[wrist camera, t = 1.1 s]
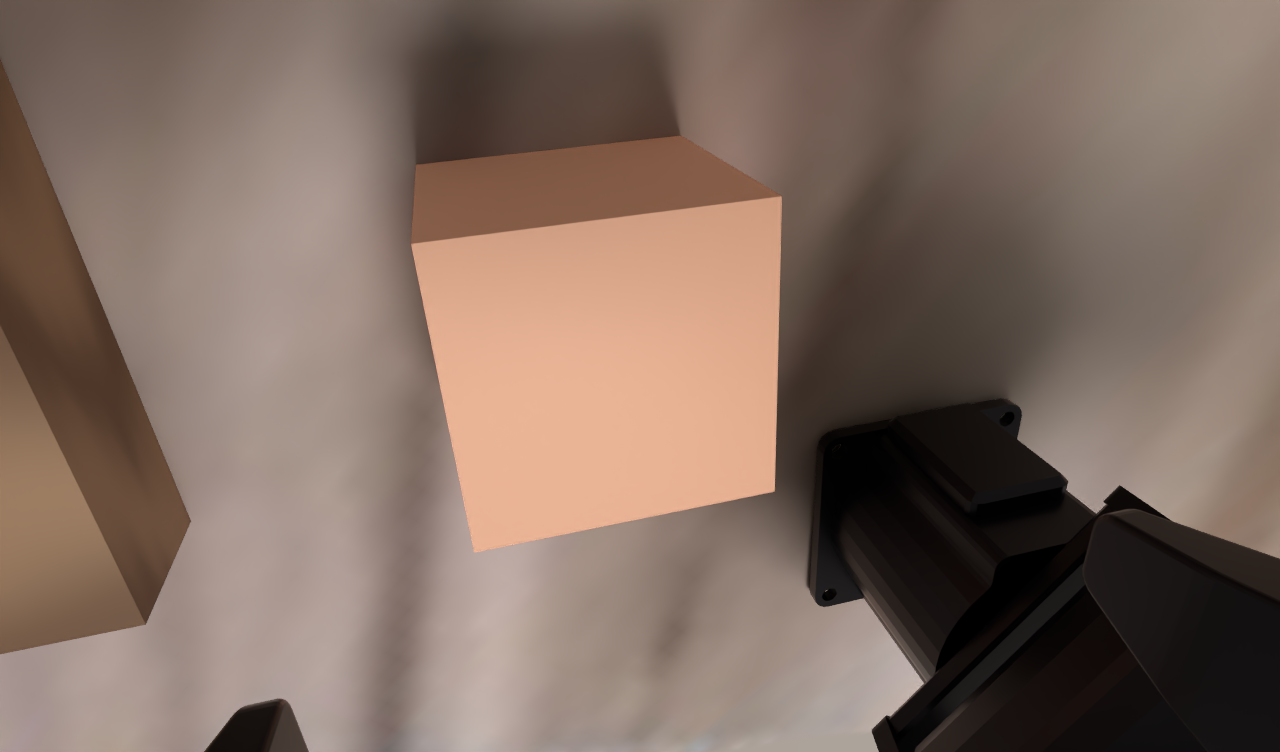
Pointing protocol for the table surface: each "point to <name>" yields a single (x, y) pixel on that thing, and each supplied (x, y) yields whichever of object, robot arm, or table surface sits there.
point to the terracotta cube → (600, 332)
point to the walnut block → (68, 431)
